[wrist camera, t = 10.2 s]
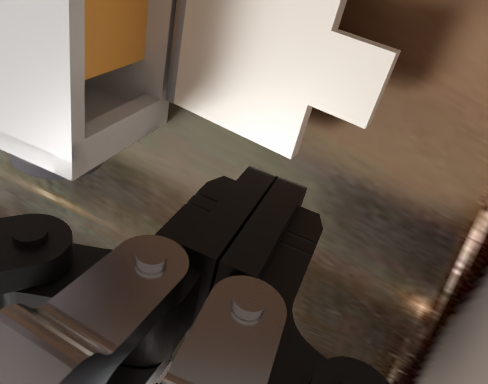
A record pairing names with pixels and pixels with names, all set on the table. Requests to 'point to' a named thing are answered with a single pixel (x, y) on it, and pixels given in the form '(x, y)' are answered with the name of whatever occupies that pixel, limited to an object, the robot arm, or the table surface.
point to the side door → (274, 67)
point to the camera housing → (81, 80)
